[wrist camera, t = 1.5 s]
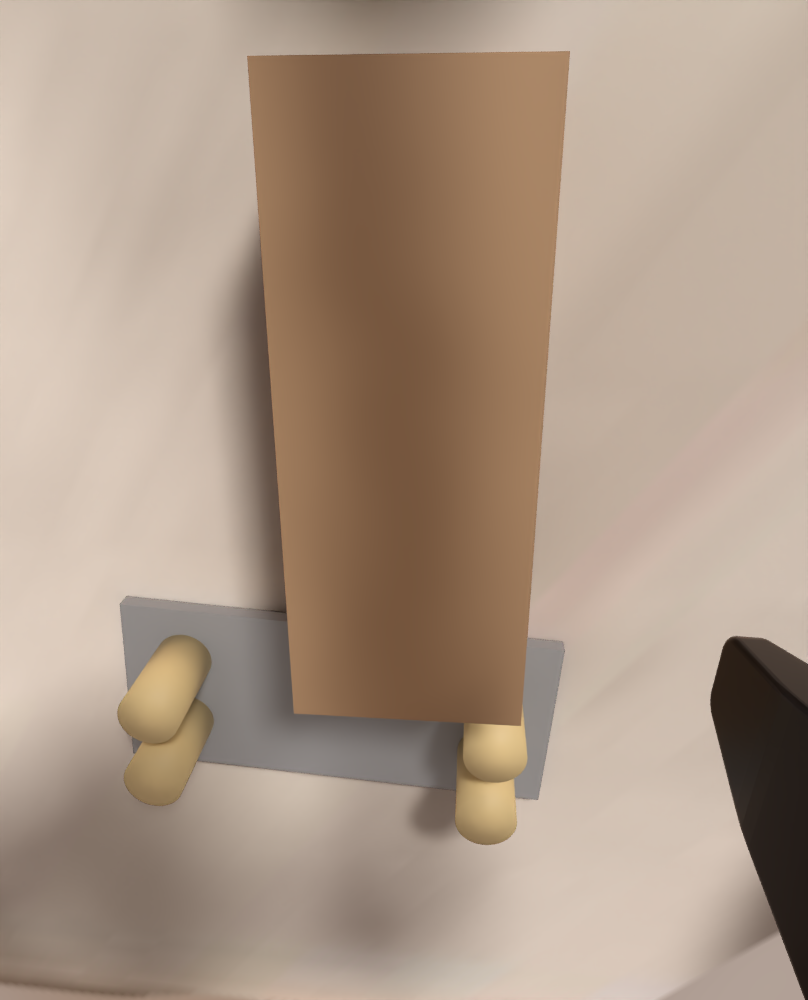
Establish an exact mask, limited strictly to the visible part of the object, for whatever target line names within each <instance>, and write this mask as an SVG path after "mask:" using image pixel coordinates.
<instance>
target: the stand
mask: <svg viewBox="0 0 808 1000" xmlns="http://www.w3.org/2000/svg"><path fill="white" fill-rule="evenodd" d="M120 611H121V622H122V633H123V644H124V654H125V665H126V676H127V687H128V692H127V694H126V695H125V697H124V698H123V700H122V701H121V703H120V705H119V707H118V712H117V713H118V720H119V722H120V724H121V726H122V728H123V729H124V730H125V731H126V732H127V733H128V734H129V735H130V736H132V741H133V752H134V753H135V755H134V757H133V758H132V760H131V762H130V764H129V765H128V767H127V769H126V770H125V773H124V782H125V785H126V787H127V789H128V791H129V792H130V793H131V794H132V795H133V796H134V797H135V798H137V799H138V800H140V801H142V802H144V803H146V804H150V805H155V806H164V805H168V804H171V803H173V802H175V801H176V800H177V799H178V798H179V797H180V795H181V793H182V791H183V789H184V787H185V785H186V783H187V781H188V779H189V777H190V774H191V772H192V770H193V768H194V766H195V764H196V762H197V761H205V762H213V763H222V764H231V765H239V766H248V767H257V768H265V769H274V770H283V771H291V772H300V773H309V774H317V775H326V776H335V777H343V778H352V779H360V780H369V781H378V782H386V783H395V784H404V785H412V786H421V787H430V788H438V789H447V790H456V810H455V824H456V827H457V829H458V831H459V833H460V834H461V835H462V836H463V837H465V838H466V839H467V840H469V841H471V842H474V843H477V844H482V845H492V844H497V843H500V842H503V841H505V840H507V839H508V838H509V837H510V836H511V835H512V834H513V833H514V831H515V829H516V826H517V818H516V803H515V797H516V798H525V799H534V800H538V798H539V792H540V787H541V781H542V775H543V770H544V764H545V759H546V753H547V747H548V742H549V736H550V731H551V725H552V719H553V714H554V708H555V703H556V697H557V691H558V686H559V680H560V675H561V669H562V663H563V658H564V652H565V650H564V644H563V642H560V641H551V640H541V639H531V638H527V649H526V663H525V677H524V691H523V704H522V718H521V726H510V725H492V724H474V723H456V722H438V721H420V720H402V719H384V718H366V717H348V716H330V715H312V714H294V707H293V693H292V679H291V665H290V651H289V637H288V623H287V613H282V612H273V611H263V610H254V609H244V608H235V607H225V606H215V605H206V604H196V603H187V602H177V601H168V600H158V599H148V598H139V597H129V596H126V597H125V599H124V600H123V601H122V602H121V603H120Z"/></svg>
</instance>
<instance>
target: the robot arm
mask: <svg viewBox="0 0 808 1000" xmlns="http://www.w3.org/2000/svg"><path fill="white" fill-rule="evenodd" d="M710 705H711V713H712V718H713V721H714V725H715V729H716V733H717V737H718V741H719V745H720V749H721V753H722V757H723V761H724V765H725V769H726V773H727V777H728V781H729V785H730V789H731V793H732V797H733V801H734V805H735V809H736V812H737V816H738V820H739V823H740V827H741V830H742V833H743V836H744V838H745V841H746V844H747V847H748V850H749V852H750V855H751V858H752V860H753V863H754V866H755V868H756V871H757V874H758V876H759V879H760V882H761V884H762V887H763V890H764V892H765V895H766V897H767V900H768V903H769V905H770V908H771V911H772V913H773V916H774V919H775V921H776V924H777V927H778V929H779V932H780V935H781V937H782V940H783V943H784V945H785V948H786V950H787V953H788V956H789V958H790V961H791V964H792V966H793V969H794V972H795V974H796V977H797V980H798V982H799V985H800V988H801V990H802V993H803V995H804V998H805V1000H808V664H807V663H805V662H804V661H802V660H800V659H799V658H797V657H795V656H794V655H792V654H790V653H789V652H787V651H785V650H784V649H782V648H780V647H778V646H777V645H775V644H773V643H772V642H770V641H768V640H766V639H763V638H754V637H740V636H733V637H731V638H729V639H728V640H727V641H726V643H725V644H724V646H723V649H722V653H721V657H720V661H719V665H718V669H717V672H716V676H715V680H714V684H713V688H712V692H711V699H710Z"/></svg>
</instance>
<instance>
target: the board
mask: <svg viewBox="0 0 808 1000" xmlns="http://www.w3.org/2000/svg"><path fill="white" fill-rule="evenodd" d="M569 57H570V51H558V52H489V53H419V54H350V55H280V56H247V59H248V73H249V87H250V101H251V115H252V129H253V144H254V158H255V172H256V186H257V200H258V214H259V228H260V242H261V256H262V270H263V284H264V299H265V313H266V327H267V341H268V355H269V369H270V383H271V397H272V411H273V425H274V439H275V454H276V468H277V482H278V496H279V510H280V524H281V538H282V552H283V566H284V580H285V594H286V609H287V623H288V637H289V651H290V665H291V679H292V693H293V707H294V714H312V715H330V716H348V717H366V718H384V719H402V720H420V721H438V722H456V723H474V724H492V725H510V726H521V718H522V704H523V691H524V677H525V663H526V649H527V635H528V622H529V608H530V594H531V580H532V567H533V553H534V539H535V525H536V511H537V498H538V484H539V470H540V456H541V443H542V429H543V415H544V401H545V388H546V374H547V360H548V346H549V332H550V319H551V305H552V291H553V277H554V264H555V250H556V236H557V222H558V208H559V195H560V181H561V167H562V153H563V140H564V126H565V112H566V98H567V84H568V71H569Z"/></svg>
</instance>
